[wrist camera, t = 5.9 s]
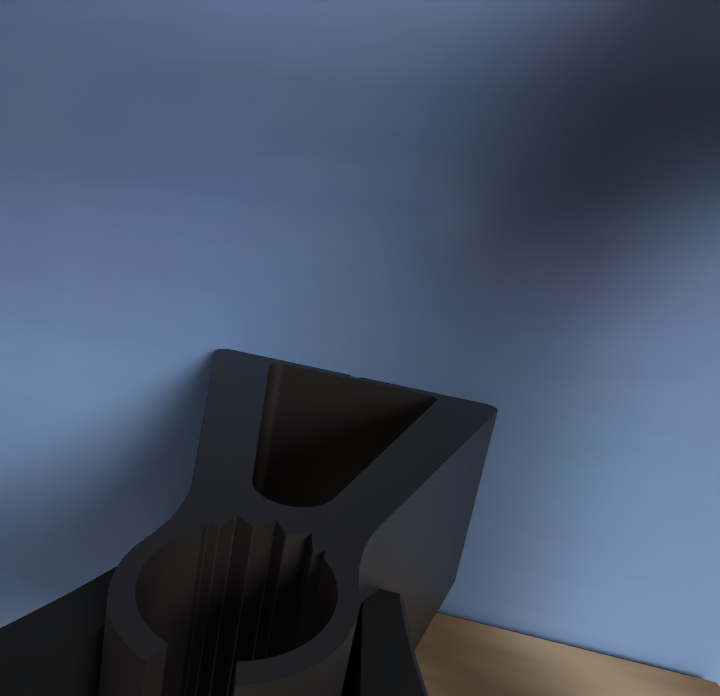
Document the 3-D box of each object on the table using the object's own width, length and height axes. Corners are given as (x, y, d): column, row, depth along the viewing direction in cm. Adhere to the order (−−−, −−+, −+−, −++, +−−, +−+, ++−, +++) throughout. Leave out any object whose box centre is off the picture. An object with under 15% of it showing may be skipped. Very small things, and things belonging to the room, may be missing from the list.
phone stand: (198, 510, 18) (-197, 967, 7) (221, 345, 17) (-217, 558, 6) (453, 574, 18) (503, 1212, 6) (497, 406, 16) (667, 801, 5)
